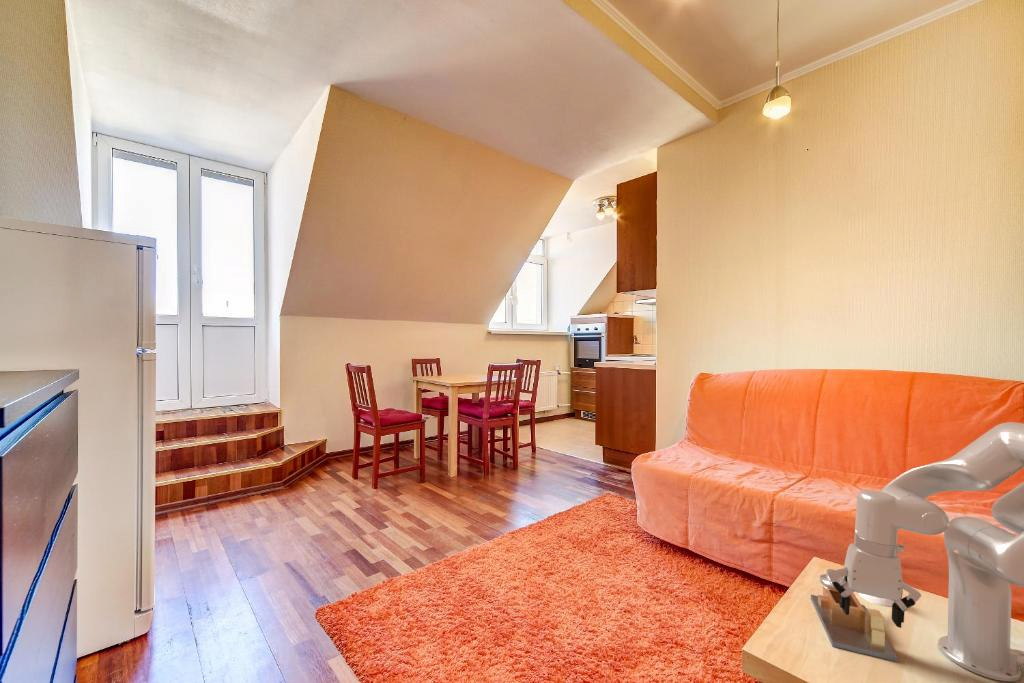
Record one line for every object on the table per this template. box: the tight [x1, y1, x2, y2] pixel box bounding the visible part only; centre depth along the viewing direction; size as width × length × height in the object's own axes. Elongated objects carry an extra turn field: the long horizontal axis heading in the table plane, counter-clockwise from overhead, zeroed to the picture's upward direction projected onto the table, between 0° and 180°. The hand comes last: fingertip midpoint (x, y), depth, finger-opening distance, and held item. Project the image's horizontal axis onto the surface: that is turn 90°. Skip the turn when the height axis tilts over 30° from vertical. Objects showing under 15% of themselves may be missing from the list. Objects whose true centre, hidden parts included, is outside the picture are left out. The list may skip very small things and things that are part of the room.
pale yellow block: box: [865, 607, 886, 650], centre depth 100 cm, size 2×4×7 cm, turn 157°
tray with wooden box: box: [810, 568, 898, 663], centre depth 108 cm, size 12×22×9 cm, turn 157°
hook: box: [858, 593, 895, 607], centre depth 119 cm, size 8×12×7 cm
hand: (870, 617), depth 100 cm, fingers open, 9 cm apart
